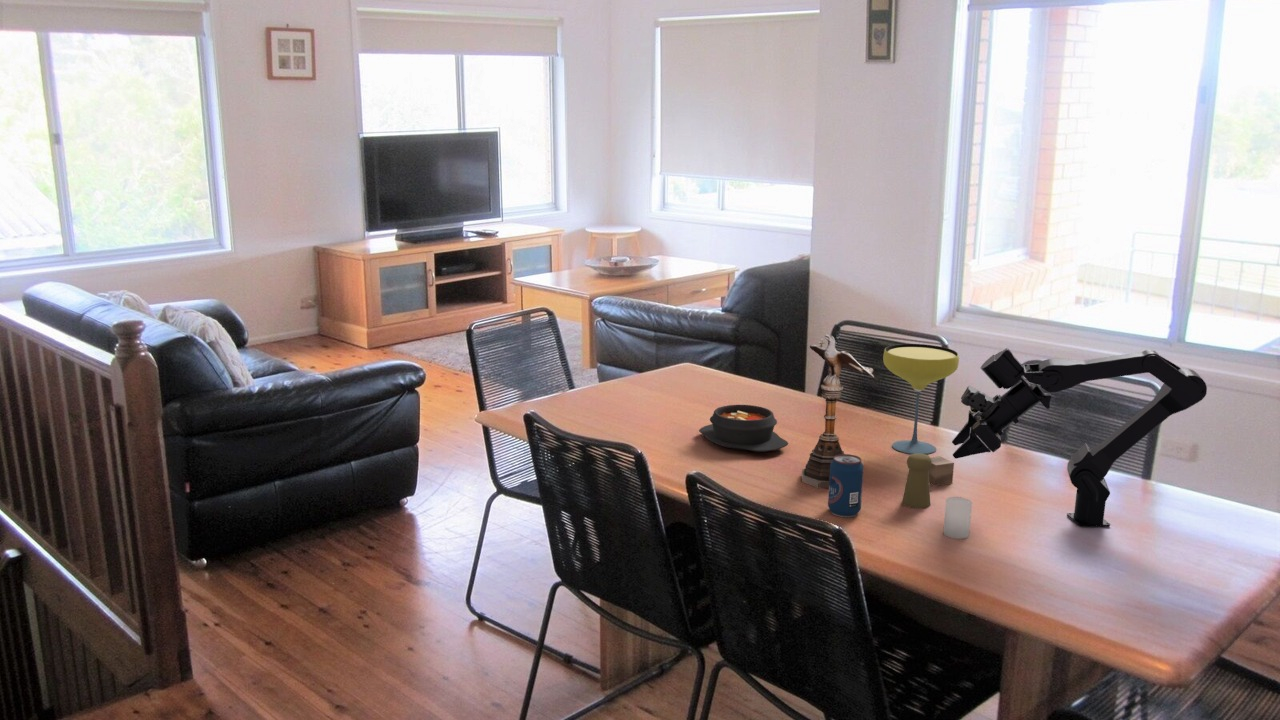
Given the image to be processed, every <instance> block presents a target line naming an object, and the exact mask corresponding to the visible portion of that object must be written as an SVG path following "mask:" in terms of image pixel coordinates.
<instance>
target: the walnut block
mask: <svg viewBox="0 0 1280 720" xmlns="http://www.w3.org/2000/svg"><path fill="white" fill-rule="evenodd" d="M929 457H930V456H929ZM930 458H931V460H932V466H931V468H930V470H929V485H932V486H943V485H948V484H953V480H954V479H953V478H954V468H955V462H954V461H951V460H949V459H948V458H945V457H943V456H941V455H938V456H931V457H930Z"/></svg>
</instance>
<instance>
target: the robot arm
mask: <svg viewBox="0 0 1280 720" xmlns="http://www.w3.org/2000/svg"><path fill="white" fill-rule="evenodd" d="M980 369H981V371H982V372H983V373H984V374H985V375H986V376H987V377H988V378H989V380H990V381H991V382H992V383H993V384H994V385H995V386H996V387H997V388H998V389H1004V390H1007V391H1006V392H1005V393H1003V394H1002V395H1000V394H996V395H995V396H993V397H991V396H990V395H987V394H986V393H984V392H982V391H981V390H979V389H977V388H976V387H973V386H971V385H968V386H967V387H966V389H965V391H964V392H963V394H962V395H961V397H960V403H962V404H963V405H964V406H966V407H970V410H968V417H967V422H966V423H965V424H964V426H963V427H962V428H961V430H960V431H959V432H958V433H957V435H955V436H954V438H953V439H952V441H951V443H952V444H953V445H954V446H959V447H958V448H957V449H956V450H955V451H954V452H953V453H952V456H953V458H954V459H961V458H965V457H969V456H974V455H979V454H985V453H991V452H992V453H995V452H997V451H998V450H999V449H1000V448H1001V446H1002V439H1001V436H1002V435H1003V434H1004V430H1005V429H1007V428H1008V427H1009V426H1010V425H1013V423H1014V425H1016V424H1018V423H1019V422H1020V418H1021V417H1022V416H1023V415H1025V414H1027V413H1028V412H1029V411H1031V410H1032V409H1033V408H1035V407H1036V406H1037V405H1038V404H1040V403H1041V405H1043V406H1044V408H1045V409H1047V410H1048V409H1050V407H1051V406H1050V405H1051V399H1052V394H1051V393H1058V392H1062V391H1064V390H1068V389H1072V388H1074V387H1076V386H1078V385H1080V384H1082V383H1083V384H1084V383H1087V382H1092V381H1097V380H1105V379H1112V378H1118V377H1124V376H1125V377H1126V376H1132V375H1139V374H1151V375H1152V376H1153V377H1155V378H1156V379H1158V380H1159V381H1160V382H1161V383H1163V384H1162V385H1161V387H1160V389H1159V390H1158V392H1157V393H1156V395H1155V396H1154V398H1153V399H1152V400H1150V402H1148V403H1147V404H1146V405H1145V406H1144V407H1142V408H1141V409H1140V410H1139V411H1138V412H1136V413H1135V414H1134V415H1133V416H1131V418H1129V419H1128V420H1127V421H1126V422H1125V423H1123V424H1122V425H1121V426H1119V428H1117V429H1116V430H1115V431H1114V432H1112V433H1111V434H1110V435H1109V436H1107V437H1106V438H1105V439H1103V441H1101V443H1099V444H1097V445H1094V446H1092V447H1090V446H1089V445H1088V444H1087V443H1084V444H1083V445H1081V447H1080V448H1079V449H1078V450H1077V451H1076V452H1074V453H1071V454H1070V457H1071V458H1070V459H1069V460H1068V462H1067V467H1066V468H1067V473H1068V477H1069V480H1070V483H1071V484H1072V485H1073V486H1074V487H1075V488H1076V494H1075V502H1074V512H1067V513H1066V516H1067V517H1068V518H1069V519H1070V520H1072V521H1073V522H1074V523H1075V525H1077V526H1079V527H1083V528H1084V527H1085V528H1087V527H1089V528H1090V527H1093V528H1094V527H1101V528H1103V527H1106V528H1107V527H1111V523H1109V522H1108V521H1107V520H1106V519H1105V511H1106V510H1105V508H1106V504H1107V503H1106V501H1107V500H1108V498H1109V496H1110V495H1111V491H1110V489H1109V486H1108V484H1107V482H1106V478H1105V477H1106V476H1107V475H1108V473H1109V471H1110V470H1111V468H1112V467H1113V465H1114V463H1115V462H1116V461H1117V460H1118V459H1120V457H1122V456H1123V455H1124V454H1126V453H1127V452H1128V451H1129V450H1130V449H1132V448H1133V447H1134V446H1135V445H1137V444H1138V443H1139V442H1140V441H1141V440H1142V439H1143V438H1145V437H1146V436H1147V435H1149V434H1150V433H1151V432H1152V431H1153V430H1154V429H1156V428H1157V427H1158V426H1159V425H1161V424H1162V423H1163V422H1164V421H1165V420H1167V419H1168V418H1169V417H1170V416H1172V415H1175V414H1177V413H1180V412H1182V411H1186V410H1187V409H1189V408H1192V407H1193V406H1195V405H1196V404H1198V403H1199V402H1201V401H1203V399H1204V398H1205V397H1206V395H1207V391H1208V390H1207V389H1208V386H1207V383H1206V382H1205V380H1204V379H1203V378H1202V377H1201V375H1199V374H1198V373H1197V372H1196V371H1195V370H1193V369H1191V368H1181V367H1180V366H1178V365H1177V364H1175V363H1174V362H1172V361H1170V360H1169V359H1167V358H1165V357H1163V356H1162V355H1160V354H1159V353H1158V352H1157V351H1156V350H1152V349H1146V350H1143V351H1139V352H1131V353H1126V354H1124V353H1123V354H1118V355H1112V356H1105V357H1098V358H1091V359H1084V360H1078V359H1069V358H1068V359H1067V358H1047V359H1045V360H1043V361H1042V360H1041V362H1040V363H1027V364H1022V363H1021V362H1020V361H1019V360H1018V359H1017V357H1016V356H1014V354H1013V352H1012V351H1011V350H1010V348H1008V347H1006V348H1004V349H1003V350H1002V351H999V352H997V353H996V354H993V355H991V356H990V357H989V358H987V359H986V360H985V361H984V362H983V363H982V365H981V366H980ZM1039 386H1040V387H1041V388H1040V387H1039ZM1008 389H1009V390H1008ZM1042 389H1043V390H1044V391H1046V392H1044V391H1043V390H1042Z"/></svg>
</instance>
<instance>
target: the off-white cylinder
mask: <svg viewBox="0 0 1280 720" xmlns="http://www.w3.org/2000/svg"><path fill="white" fill-rule="evenodd" d="M972 506H973V502H972V500H971V499H969V498H966V497H961V496H951V497H950V496H949V497H947V498H946V499H945V507H944V510H945V511H944V518H943V532H942V533H943V535H944V536H946V537H948V538H952V539H957V540H963V539H964V540H965V539H967V538H969V537H970V530H971V518H972Z"/></svg>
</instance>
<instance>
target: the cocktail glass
mask: <svg viewBox="0 0 1280 720" xmlns="http://www.w3.org/2000/svg"><path fill="white" fill-rule="evenodd" d="M882 358H883V365H884V366H885V367H886V368H887V370H889V372H890V373H892V374H894V375H895V376H897V377H899V378H901V379H902V380H904V381H906V382H907V383H908V384H910V386H911V387H912V389H913V390H914V392H915V391H916V402H915V413H914V414H915V415H914V424H913V432H912V436H911V439H909V440H908V439H907V440H899V441H895V442H892V444H891V447H892V448H893V449H894V450H895V451H897V452H899V453H903V454H907V455H911V454H915V453H920V454H925V455H931V454H934V453H935V452H936V450H937V448H936V446H935V445H933V444H931V443H928V442H926V441H919V440H918V417H919V402H920V393H921V392H922V391H924V389H926V388H927V386H928V385H930V384H933V383H935V382H937V381H939V380H940V381H941V380H942V379H945V378H947V377H949V376H951V375H952V374H953V373H955V372H956V371H957V370H958V367H959V363H960V356H959V353H958V352H957V351H956V350H953V349H951V348H948V347H944V346H939V345H933V344H924V343H923V344H922V343H921V344H920V343H902V344H901V343H899V344H894V345H893V344H892V345H889V346H887V347H885V348H884V350H883V357H882Z"/></svg>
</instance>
